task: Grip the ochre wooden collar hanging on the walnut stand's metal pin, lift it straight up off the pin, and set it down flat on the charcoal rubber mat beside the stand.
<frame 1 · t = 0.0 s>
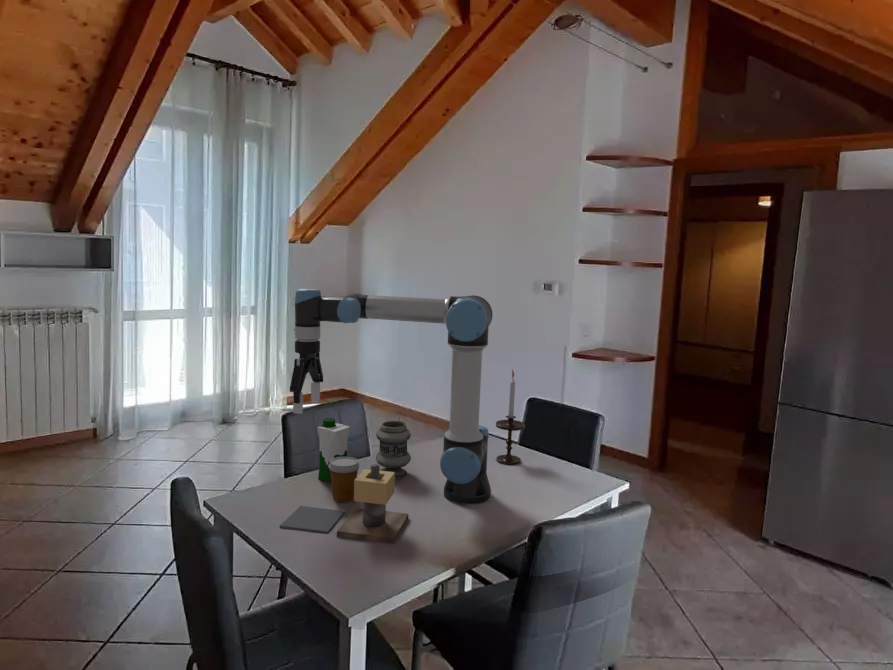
hand: (307, 407, 196), 28 cm above the table, tool pointing down, fingers open, 13 cm apart
stand: (373, 527, 179), on the table
apothecary jar: (392, 474, 221), on the table
candlestick: (508, 461, 239), on the table
disposable coffee cup: (343, 498, 198), on the table
milk carton: (333, 478, 214), on the table
mat: (313, 519, 182), on the table
collar: (374, 496, 178), point 9 cm above the table, touching stand
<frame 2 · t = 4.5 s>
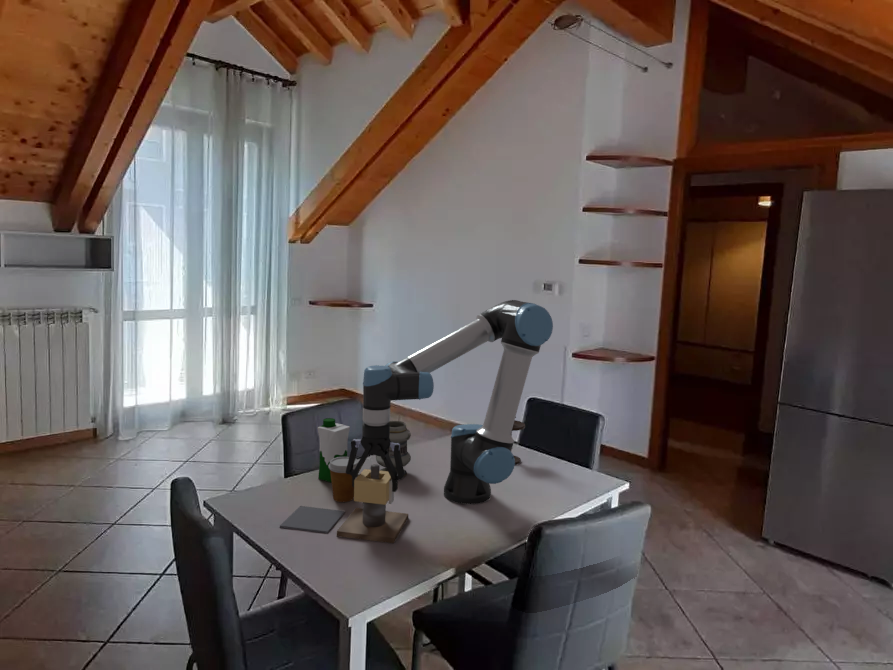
hand: (374, 500, 178), 8 cm above the table, tool pointing down, fingers closed on collar, 9 cm apart
collar: (374, 496, 178), point 9 cm above the table, touching gripper, stand
everything else where it was.
when the fingers open (2 cm above the table, at t = 13.2 s): collar drops 2 cm, resting on mat.
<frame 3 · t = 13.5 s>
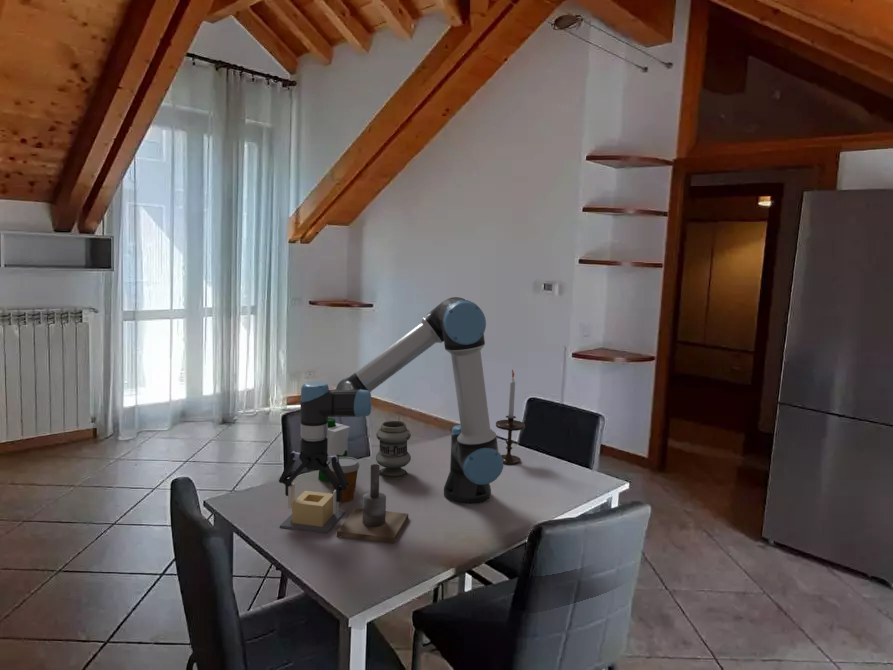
hand: (313, 509, 182), 3 cm above the table, tool pointing down, fingers open, 13 cm apart
collar: (313, 518, 182), resting on mat
everything else where it was.
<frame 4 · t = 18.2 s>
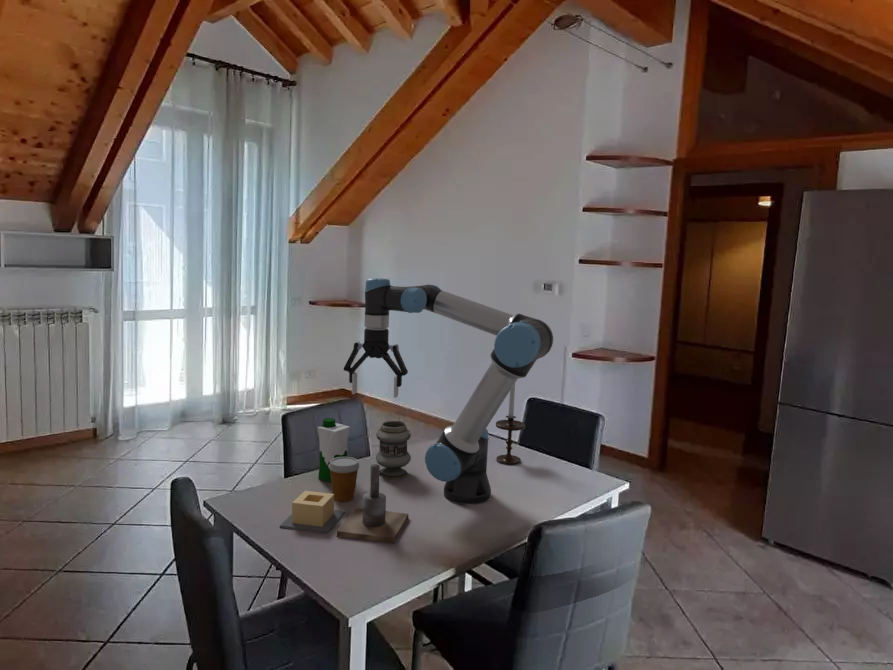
hand: (375, 395, 200), 32 cm above the table, tool pointing down, fingers open, 13 cm apart
nothing on the table moved.
at the end: collar inside the target area on the mat (0.0 cm from its centre), point 0.5 cm above the mat's base; collar tilted 0°; the gripper is holding nothing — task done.
